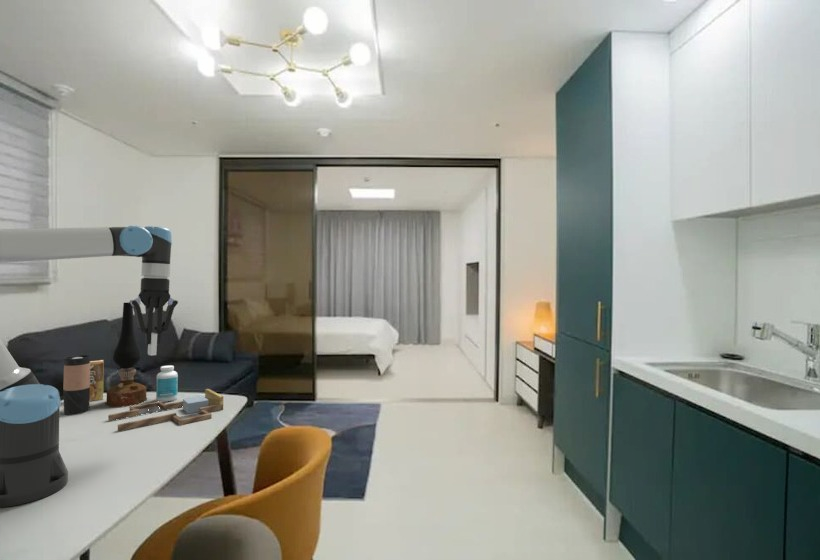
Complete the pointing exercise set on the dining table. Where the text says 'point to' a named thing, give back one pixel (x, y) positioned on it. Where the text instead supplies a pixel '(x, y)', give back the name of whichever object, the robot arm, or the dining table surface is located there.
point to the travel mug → (76, 384)
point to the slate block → (194, 404)
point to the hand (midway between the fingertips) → (152, 354)
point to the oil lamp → (126, 365)
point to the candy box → (96, 380)
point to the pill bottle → (167, 384)
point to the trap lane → (203, 414)
